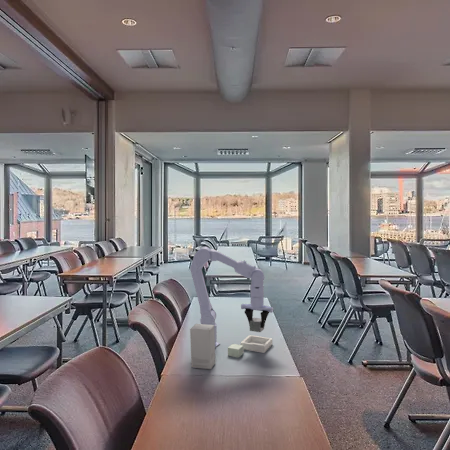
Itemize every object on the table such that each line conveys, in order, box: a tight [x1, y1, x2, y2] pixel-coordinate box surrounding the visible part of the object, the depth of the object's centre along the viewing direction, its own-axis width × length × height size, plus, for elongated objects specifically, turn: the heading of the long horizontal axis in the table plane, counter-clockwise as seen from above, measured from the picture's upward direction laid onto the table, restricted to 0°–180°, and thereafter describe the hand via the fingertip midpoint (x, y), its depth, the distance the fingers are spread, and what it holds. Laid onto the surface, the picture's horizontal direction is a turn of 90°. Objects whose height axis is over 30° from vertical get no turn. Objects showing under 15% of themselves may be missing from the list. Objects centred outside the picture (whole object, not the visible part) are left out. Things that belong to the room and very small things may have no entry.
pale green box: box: [227, 343, 244, 358], centre depth 158 cm, size 5×5×4 cm
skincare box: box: [189, 323, 216, 370], centre depth 147 cm, size 8×7×16 cm
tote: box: [240, 334, 273, 354], centre depth 167 cm, size 11×11×3 cm
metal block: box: [249, 317, 265, 333], centre depth 167 cm, size 5×5×4 cm
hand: (256, 326), depth 167 cm, fingers closed on metal block, 5 cm apart
